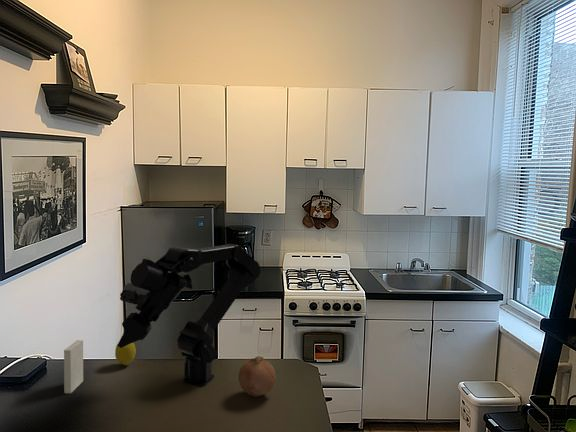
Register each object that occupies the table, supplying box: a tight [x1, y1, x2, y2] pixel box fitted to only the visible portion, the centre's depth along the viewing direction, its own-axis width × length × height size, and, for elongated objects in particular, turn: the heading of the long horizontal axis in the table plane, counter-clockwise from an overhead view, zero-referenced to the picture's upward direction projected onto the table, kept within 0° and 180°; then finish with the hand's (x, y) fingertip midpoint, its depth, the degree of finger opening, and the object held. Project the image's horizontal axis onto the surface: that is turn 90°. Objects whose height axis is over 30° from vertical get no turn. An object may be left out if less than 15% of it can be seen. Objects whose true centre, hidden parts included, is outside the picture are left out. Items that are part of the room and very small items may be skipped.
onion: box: [238, 355, 277, 398], centre depth 115 cm, size 10×9×10 cm
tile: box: [63, 339, 84, 394], centre depth 116 cm, size 2×7×11 cm, turn 0°
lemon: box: [114, 342, 137, 366], centre depth 131 cm, size 6×6×8 cm
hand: (125, 338), depth 115 cm, fingers open, 9 cm apart
